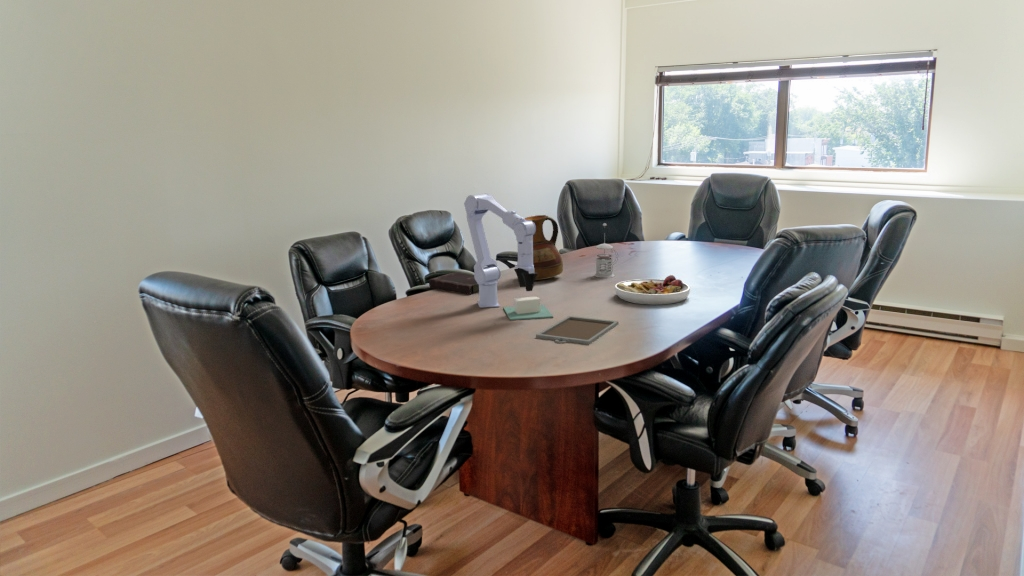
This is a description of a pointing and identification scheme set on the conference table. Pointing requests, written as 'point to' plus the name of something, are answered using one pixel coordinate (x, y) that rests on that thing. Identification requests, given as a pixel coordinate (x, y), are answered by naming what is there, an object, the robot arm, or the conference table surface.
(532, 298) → the card box
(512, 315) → the mat
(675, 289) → the bowl
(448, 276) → the diary
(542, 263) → the ceramic pitcher
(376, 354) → the conference table surface
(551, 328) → the picture frame
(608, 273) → the french press
